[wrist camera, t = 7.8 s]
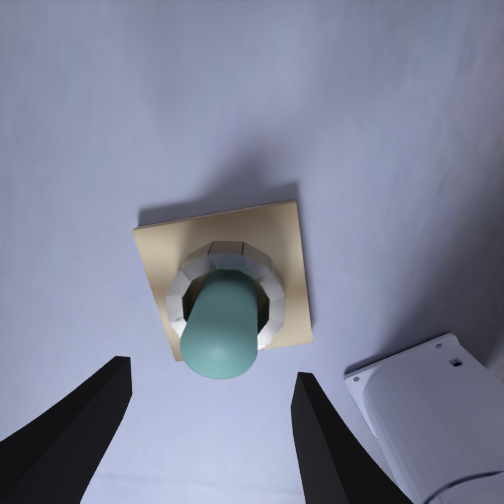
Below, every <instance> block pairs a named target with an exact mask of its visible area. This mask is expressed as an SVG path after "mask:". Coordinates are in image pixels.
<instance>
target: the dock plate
mask: <svg viewBox="0 0 504 504" xmlns="http://www.w3.org/2000/svg"><path fill="white" fill-rule="evenodd" d="M132 233H133V236H134V239H135V242H136V245H137V248H138V251H139V254H140V257H141V260H142V263H143V266H144V269H145V272H146V275H147V278H148V281H149V284H150V287H151V290H152V293H153V295H154V298H155V301H156V304H157V307H158V310H159V313H160V316H161V319H162V322H163V325H164V328H165V331H166V334H167V337H168V340H169V343H170V346H171V349H172V352H173V355H174V358H175V361H183V358H182V355H181V352H180V339H181V338H180V337H179V335H178V334H177V333H176V331H175V330H174V329H173V327H172V326H171V325H170V324H169V321H168V315H167V305H166V292H167V290H168V289H169V287H170V285H171V283H172V281H173V280H174V278H175V276H176V274H177V272H178V271H179V269H180V267H181V266H182V264H183V263H184V261H185V260H186V258H187V256H188V255H189V254H190V253H192V252H194V251H196V250H198V249H199V248H201V247H203V246H205V245H207V244H209V243H211V242H212V241H213V242H214V241H243V243H244V242H246V243H248V244H249V245H251V246H253V247H255V248H256V249H258V250H260V251H262V252H263V253H265V254H267V255H268V257H270V258H271V260H272V262H273V264H274V266H275V267H276V269H277V271H278V273H279V274H280V276H281V278H282V281H283V286H284V290H285V294H286V307H285V321H284V325H283V326H282V328H281V329H280V330H279V332H278V333H277V334H276V336H275V337H274V338H273V339H272V341H271V342H270V343H269V345H267V346H266V347H264V348H262V349H269V348H276V347H283V346H290V345H297V344H304V343H311V342H313V339H312V330H311V322H310V313H309V305H308V296H307V288H306V279H305V271H304V263H303V254H302V246H301V237H300V229H299V220H298V212H297V203H296V201H295V200H289V201H283V202H278V203H272V204H266V205H260V206H254V207H249V208H243V209H237V210H231V211H226V212H220V213H214V214H208V215H202V216H197V217H191V218H185V219H179V220H174V221H168V222H162V223H156V224H150V225H145V226H139V227H136V228H135V229H133V230H132ZM216 270H219V269H213V270H211V271H209V272H207V273H205V274H203V275H201V276H199V277H197V278H195V279H193V280H192V282H191V297H192V300H193V302H194V303H195V302H196V300H197V297H198V295H199V293H200V290H201V288H202V285H203V283H204V281H205V279H206V278H207V277H208V276H209V275H210V274H211V273H213V272H214V271H216ZM251 278H252V277H251ZM252 280H253V281H254V283H255V285H256V289H257V314H258V312H259V311H260V310H261V308H262V307H263V305H264V304H265V303H266V301H267V294H266V292H265V291H264V289H263V287H262V286H261V284H260V282H259V281H258V280H256V279H254V278H252ZM259 350H261V349H259Z"/></svg>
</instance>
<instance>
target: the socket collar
mask: <svg viewBox="0 0 504 504" xmlns="http://www.w3.org/2000/svg"><path fill="white" fill-rule="evenodd" d="M213 269H229V270H239V271H241V272H243V273H245V274H247V275H248V276H250V277H252V278H254V279H256V280H258V281H259V282H260V284H261V286H262V287H263V289H264V291H265V292H266V294H267V301H266V303H265V304H264V305H263V307H262V308H261V310H260V311H259V312H258V314H257V334H258V350H259V349H262V348H264V347H266V346H267V345H269V343H270V342H271V341H272V339H273V338H274V337H275V336H276V334H277V333H278V332H279V330H280V329H281V328H282V326H283V325H284V321H285V307H286V294H285V290H284V286H283V281H282V278H281V276H280V274H279V273H278V271H277V269H276V267H275V266H274V264H273V262H272V260H271V258H270V257H268V255H267V254H265V253H263V252H262V251H260V250H258V249H256V248H255V247H253V246H251V245H249V244H248V243H246V242H244V243H243V241H214V242H213V241H212V242H211V243H209V244H207V245H205V246H203V247H201V248H199V249H198V250H196V251H194V252H192V253H190V254H189V255H188V256H187V258H186V260H185V261H184V263H183V264H182V266H181V267H180V269H179V271H178V272H177V274H176V276H175V278H174V280H173V281H172V283H171V285H170V287H169V289H168V290H167V292H166V305H167V315H168V321H169V324H170V325H171V326H172V327H173V329H174V330H175V331H176V333H177V334H178V335H179V337H180V338H181V335H182V333H183V331H184V328H185V326H186V324H187V321H188V319H189V316H190V314H191V312H192V309H193V307H194V304H195V303H194V302H193V300H192V297H191V282H192V280H193V279H195V278H197V277H199V276H201V275H203V274H205V273H207V272H209V271H211V270H213Z"/></svg>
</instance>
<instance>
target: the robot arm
mask: <svg viewBox="0 0 504 504" xmlns="http://www.w3.org/2000/svg"><path fill="white" fill-rule="evenodd" d="M437 344H438V345H437ZM355 377H356V378H355ZM344 381H345V384H346V385H347V387H348V389H349V391H350V393H351V394H352V396H353V398H354V400H355V402H356V403H357V405H358V407H359V409H360V411H361V412H362V414H363V416H364V418H365V419H366V421H367V423H368V425H369V427H370V428H371V430H372V432H373V434H374V435H375V436H377V438H378V440H379V442H380V445H381V447H382V449H383V452H384V454H385V456H386V458H387V461H388V463H389V465H390V467H391V470H392V472H393V474H394V476H395V479H396V481H397V483H398V486H399V488H400V489H399V488H398V487H397V486H396V485H395V483H394V482H393V481H392V480H391V479H390V478H389V477H388V476H387V475H386V474H385V473H384V472H383V470H382V469H381V468H380V467H379V466H378V465H377V464H376V462H375V461H374V460H373V459H372V458H371V457H370V455H369V454H368V453H367V452H366V450H365V449H364V448H363V447H362V445H361V444H360V443H359V442H358V440H357V439H356V438H355V436H354V435H353V434H352V432H351V431H350V430H349V428H348V427H347V426H346V424H345V423H344V421H343V420H342V418H341V417H340V416H339V414H338V413H337V411H336V410H335V408H334V407H333V405H332V404H331V402H330V401H329V399H328V398H327V396H326V394H325V393H324V391H323V390H322V388H321V386H320V385H319V383H318V381H317V380H316V378H315V376H314V375H313V374H312V373H305V372H298V375H297V380H296V384H295V389H294V394H293V399H292V404H291V417H292V429H293V437H294V442H295V448H296V453H297V458H298V464H299V469H300V474H301V479H302V485H303V490H304V495H305V501H306V504H504V384H503V383H501V382H500V381H499V380H498V379H497V378H496V377H495V376H494V375H493V374H492V373H491V372H489V371H488V370H487V369H486V368H485V367H484V366H483V365H482V364H481V363H480V362H479V361H477V360H476V359H475V358H474V357H473V356H472V355H471V354H470V353H469V352H468V351H467V350H465V349H464V348H463V347H462V346H461V345H460V344H459V341H458V339H457V337H456V336H455V335H454V334H452V333H448V334H445V335H443V336H440V337H438V338H435V339H433V340H430V341H428V342H425V343H423V344H420V345H418V346H415V347H413V348H411V349H408V350H406V351H403V352H401V353H398V354H396V355H393V356H391V357H388V358H386V359H383V360H381V361H379V362H376V363H374V364H371V365H369V366H366V367H364V368H361V369H359V370H356V371H354V372H351V373H349V374H347V375H345V376H344ZM131 396H132V379H131V361H130V357H123V356H115V357H114V358H113V359H111V360H110V361H109V362H108V363H106V364H105V365H104V366H103V367H102V368H100V369H99V370H98V371H97V372H96V373H94V374H93V375H92V376H91V377H89V378H88V379H87V380H86V381H85V382H83V383H82V384H81V385H80V386H78V387H77V388H76V389H75V390H73V391H72V392H71V393H70V394H68V395H67V396H66V397H64V398H63V399H62V400H60V401H59V402H58V403H56V404H55V405H54V406H52V407H51V408H50V409H48V410H47V411H46V412H44V413H43V414H41V415H40V416H39V417H37V418H36V419H34V420H33V421H31V422H30V423H29V424H27V425H26V426H24V427H23V428H21V429H20V430H18V431H16V432H15V433H13V434H12V435H10V436H9V437H7V438H6V439H4V440H2V441H1V442H0V504H80V502H81V499H82V497H83V495H84V493H85V491H86V489H87V487H88V484H89V482H90V480H91V478H92V477H93V475H94V473H95V471H96V469H97V467H98V465H99V463H100V461H101V459H102V458H103V456H104V454H105V452H106V450H107V448H108V446H109V444H110V442H111V441H112V439H113V437H114V435H115V433H116V431H117V429H118V427H119V425H120V423H121V421H122V419H123V417H124V414H125V412H126V409H127V407H128V404H129V401H130V399H131Z"/></svg>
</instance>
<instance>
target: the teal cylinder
mask: <svg viewBox="0 0 504 504" xmlns="http://www.w3.org/2000/svg"><path fill="white" fill-rule="evenodd" d="M257 351H258V334H257V289H256V285H255V283H254V281H253V280H252V278H251V277H250V276H248V275H247V274H245V273H243V272H241V271H239V270H229V269H219V270H216V271H214V272H213V273H211V274H210V275H209V276H208V277H207V278H206V279H205V281H204V283H203V285H202V288H201V290H200V293H199V295H198V297H197V300H196V302H195V304H194V307H193V309H192V312H191V314H190V316H189V319H188V321H187V324H186V326H185V328H184V331H183V333H182V335H181V339H180V352H181V355H182V358H183V360H184V361H185V363H186V364H187V365H188V366H189V367H190V368H191V369H192V370H193V371H195V372H196V373H198V374H200V375H202V376H204V377H207V378H211V379H230V378H234V377H237V376H239V375H241V374H243V373H244V372H246V371H247V370H248V369H249V368H250V367H251V366H252V365H253V363H254V361H255V359H256V356H257Z"/></svg>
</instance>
